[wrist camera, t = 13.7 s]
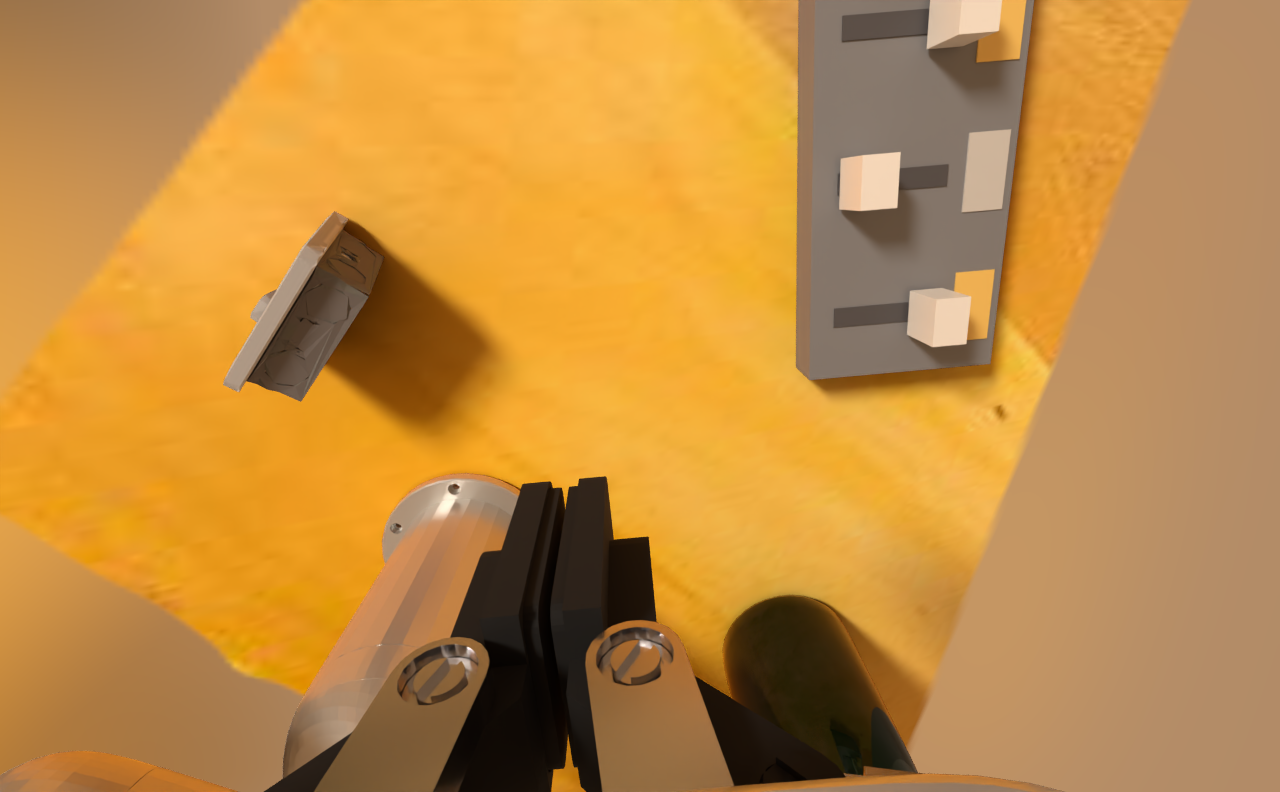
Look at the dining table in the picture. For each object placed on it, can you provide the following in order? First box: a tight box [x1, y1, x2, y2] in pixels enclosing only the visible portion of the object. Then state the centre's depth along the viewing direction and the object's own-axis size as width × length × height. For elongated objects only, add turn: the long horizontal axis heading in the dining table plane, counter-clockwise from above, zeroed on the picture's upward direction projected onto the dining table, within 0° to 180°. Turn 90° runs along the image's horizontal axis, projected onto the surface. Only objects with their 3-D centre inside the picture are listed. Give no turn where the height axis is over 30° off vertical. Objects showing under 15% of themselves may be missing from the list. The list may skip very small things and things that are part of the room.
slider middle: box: [839, 152, 901, 211], centre depth 33 cm, size 3×2×3 cm
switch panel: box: [796, 0, 1034, 380], centre depth 36 cm, size 24×12×3 cm, turn 5°
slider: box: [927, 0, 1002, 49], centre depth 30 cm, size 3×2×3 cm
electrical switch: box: [223, 211, 384, 402], centre depth 35 cm, size 9×5×9 cm, turn 142°
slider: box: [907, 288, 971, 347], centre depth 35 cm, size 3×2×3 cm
